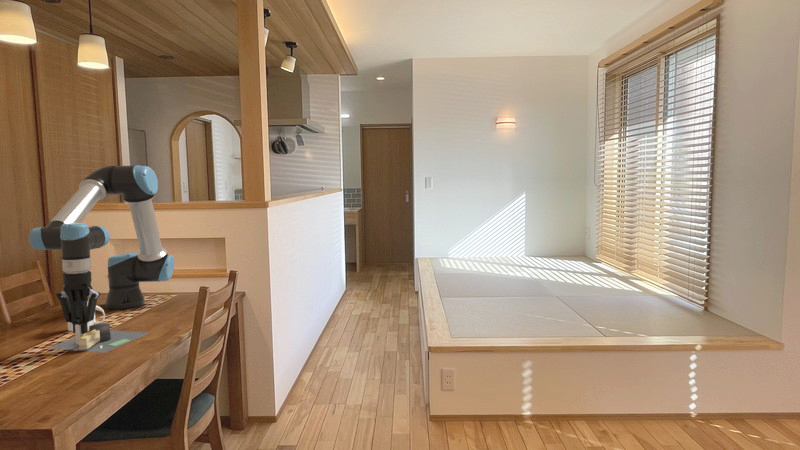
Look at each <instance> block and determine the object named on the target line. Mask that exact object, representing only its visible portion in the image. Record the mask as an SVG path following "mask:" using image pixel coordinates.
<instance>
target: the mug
mask: <svg viewBox="0 0 800 450" xmlns="http://www.w3.org/2000/svg"><path fill="white" fill-rule="evenodd" d="M88 301H89V299H88ZM87 306H88V302H87ZM95 311H99V312H101V314H103V317H102V319H100V320H99V321H96V313H95V314H94V319H93V320H92V321H90V322H88V323H87V327H88V330H89V326H91V325H94V324H99V323H104V321H105V319H106V318H105V317H106V314H105V311H104V309H103V308H102V307H101V306H99V305H97V304H96V309H95ZM67 331H68V332H73V324H72V323H70V322H67Z"/></svg>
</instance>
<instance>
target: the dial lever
mask: <svg viewBox="0 0 800 450" xmlns="http://www.w3.org/2000/svg"><path fill="white" fill-rule="evenodd" d="M110 330H111V324H110V323H109V322H103V323H99V324H94V325H91V326H89V329H88V331H89V333H88V332H87V334H85V335H84V336H82V337H80V338H79V339H78V341H79V350H83V349H88V348H90V347H91V346H93V345H94V344H96V343H100V342H105V341H108V340H110V339H111V334H110Z"/></svg>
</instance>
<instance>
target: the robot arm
mask: <svg viewBox="0 0 800 450" xmlns="http://www.w3.org/2000/svg"><path fill="white" fill-rule="evenodd" d="M155 172H156V171H154V169H152V168H151V167H150V166H147V165H107V166H103V167H101V168H98V169H95V170H94V171H93V172H91V173H89V174H88V175H87V176H86V177H84V179H82V180H81V182H80V183H79V185H78V189H77V190H76V192H75V193H74V194H73V195H72V196H71V197H70V198H69V200H68V201H67V202H66V203H65V204H64V205H63V207H62V208H61V209H59V211H58V212H57V213H56V214H55V216H53V218H52V219H51V220H50V221H49V222H48V223H47V225H46V226H44V227H43V226H40V227H35V228H33V229H32V230H31V231H30V232H29V236H28V241H29V244H30V246H31V248H33V249H35V250H45V251H52V250H53V251H56V250H57V251H59V250H60V251H61V266H62V272H63V274H62V283H63V285H64V287H63V290H62V291H61V292H58V293H56V295H55V296H56V297H57V299H58V300H59V303H60V306H61V309H62V313H63V315H64V318H65V322H70V323H72V324H73V331H72V332H73V334H74V335H75V337H76V344H79V341H78V339H79V338H80V337H82V336H84V335H85V334H86V333H88V331H89V329H88V327H87V323H88V322H90V321H92V320H93V319H94V314H95V315H96V310H95V309H96V305H97V304H98V303H97V301H98V298H99V297H100V296H101V293H100V292H99V291H95V290H93V287H92V285H91V284H92V280H93V279H92V272H91V270H92V262H91V250H94V249H100V248H102V247H105V246H106V245H107V244H108V243H109V242H110V239H111V234H110V232H109V230H108V229H107V228H106V227H104V226H101V225H92V226H89V225H88V224H87V223H84V222H83V220H84V219H85V218H86V217H87V215H88V214H89V213H90V212H91V211H92V210H93V208H94V207H95V205H96V204H97V203H98V202H99V201H102V200H103V199H104V198H105V197H106V196H110V195H121V196H122V199H123V201H124V202H125V203H127V204H128V206H129V210H130V215H131V218H132V222H133V226H134V230H135V231H134V232H135V234H136V235H135V236H136V239H137V243H138V247H139V253H138V252H127V253H121V254H120V253H119V254H116V255H112V256H110V257H108V259H107V275H108V287H109V288H108V293H107V298H106V300H105V309H107V310H125V309H133V308H137V307H139V306H143V305H144V304H145V297H144V296H143V292H142V290H141V288H140V283H142V282H143V283H147V282H149V283H150V282H151V283H152V282H159V283H161V282H167V281H169V280H170V279H171V278H172V276H173V273H174V270H175V257H174V256H173V255H172V254H171V255H170V254H168V251H167V249H166V248H164V247H163V245H162V241H161V236H160V232H159V227H158V223H157V218H156V214H155V208H154V204H153V199H155V194H157V192H158V190H159V186H158V185H159V181H158V177H157V174H156V173H155ZM88 300H89V301H88ZM87 302H88V306H87Z"/></svg>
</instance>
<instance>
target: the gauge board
mask: <svg viewBox="0 0 800 450" xmlns="http://www.w3.org/2000/svg"><path fill="white" fill-rule="evenodd" d="M87 333H89V332H88V331H87ZM87 333H86V334H87ZM110 334H111V339H110V340H108V341H105V342H100V343H96V344H94V345H93V346H91V347H90V348H88V349H83V350H79V344H76V336H75V337H73V338H69V339H67V340H65V341H62V342H59V343H56V344H53V345H52V346H49V347H47V349H54V350H63V351H64V350H65V351H66V350H67V351H74V352H75V351H77V352H86V353H87V352H89V353H101V354H106V353H107V352H109V351H112V350H114V349H117V348H119V347H122V346H124V345H126V344H128V343H130V342H133V341H135V340H137V339H139V338H141V337H144V336H146V335H148V334H149V332H144V331H143V332H142V331H130V330H129V331H128V330H114V329H113V330H112V329H110Z"/></svg>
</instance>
